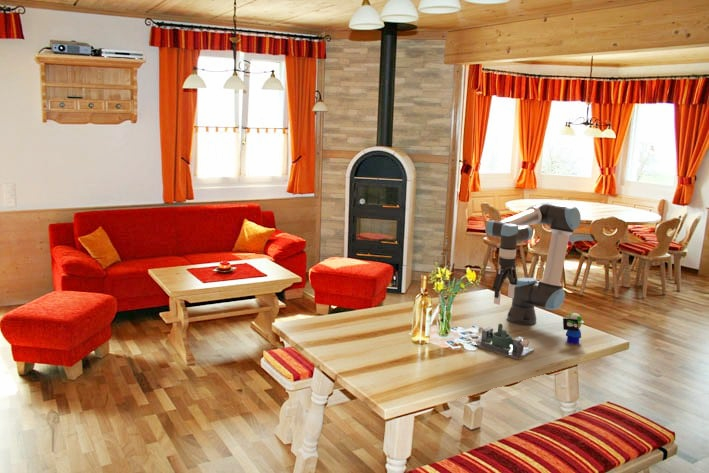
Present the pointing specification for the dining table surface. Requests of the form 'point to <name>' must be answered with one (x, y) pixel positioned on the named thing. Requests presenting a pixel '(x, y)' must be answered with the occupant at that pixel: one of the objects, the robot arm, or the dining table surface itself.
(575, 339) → the toy
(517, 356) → the shaft bench
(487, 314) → the dining table surface
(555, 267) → the robot arm
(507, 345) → the bracket
